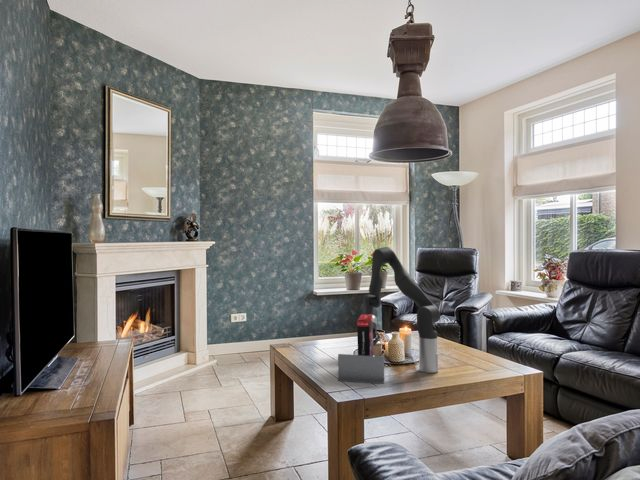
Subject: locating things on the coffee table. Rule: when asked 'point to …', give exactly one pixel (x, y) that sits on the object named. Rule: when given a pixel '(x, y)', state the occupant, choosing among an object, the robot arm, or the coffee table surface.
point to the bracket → (361, 368)
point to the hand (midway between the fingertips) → (367, 351)
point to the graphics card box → (365, 335)
